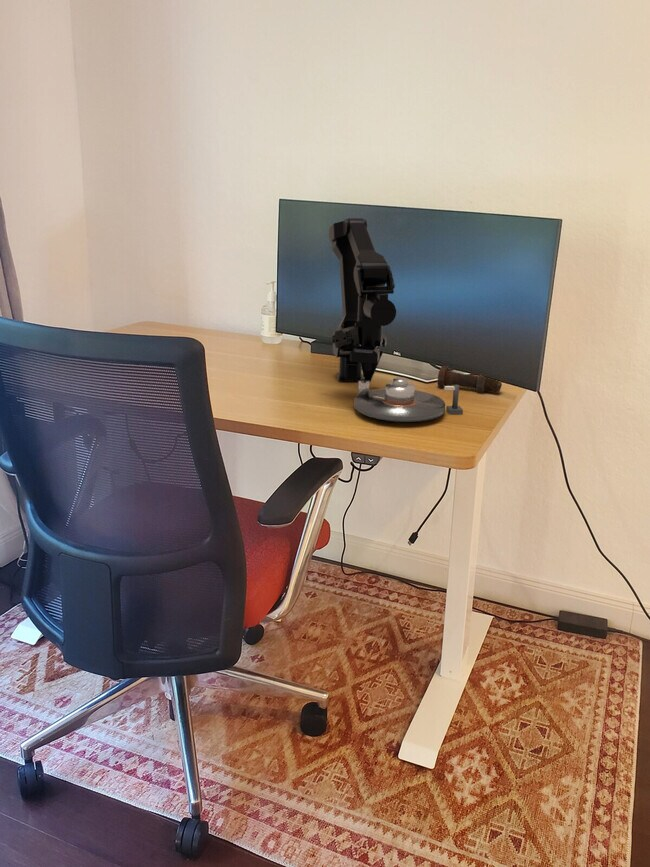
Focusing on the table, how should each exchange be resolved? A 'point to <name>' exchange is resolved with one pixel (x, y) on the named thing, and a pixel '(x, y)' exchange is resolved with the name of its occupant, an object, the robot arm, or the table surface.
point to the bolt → (467, 381)
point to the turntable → (376, 406)
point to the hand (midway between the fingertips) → (367, 383)
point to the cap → (399, 392)
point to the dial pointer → (454, 400)
